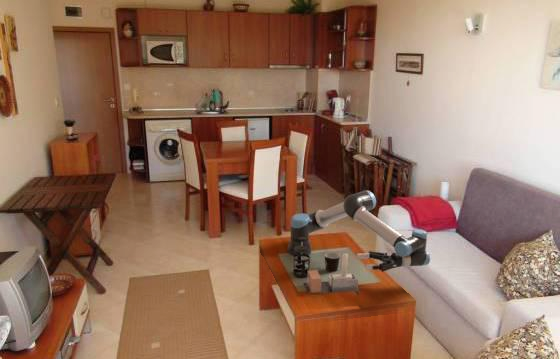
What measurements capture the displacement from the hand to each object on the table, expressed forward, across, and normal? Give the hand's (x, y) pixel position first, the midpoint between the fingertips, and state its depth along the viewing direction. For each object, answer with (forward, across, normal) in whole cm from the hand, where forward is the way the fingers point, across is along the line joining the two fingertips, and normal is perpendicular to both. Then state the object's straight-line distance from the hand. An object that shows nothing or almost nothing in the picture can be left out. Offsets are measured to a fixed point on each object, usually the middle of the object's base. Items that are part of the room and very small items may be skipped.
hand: (361, 261), depth 233 cm
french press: (+28, +17, -15) cm, 37 cm away
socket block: (+25, 0, -13) cm, 28 cm away
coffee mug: (+9, +22, -15) cm, 29 cm away
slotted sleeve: (+16, 0, -15) cm, 22 cm away
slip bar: (+11, 0, -12) cm, 16 cm away
